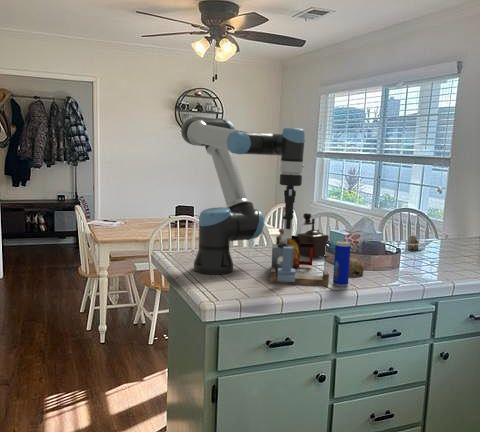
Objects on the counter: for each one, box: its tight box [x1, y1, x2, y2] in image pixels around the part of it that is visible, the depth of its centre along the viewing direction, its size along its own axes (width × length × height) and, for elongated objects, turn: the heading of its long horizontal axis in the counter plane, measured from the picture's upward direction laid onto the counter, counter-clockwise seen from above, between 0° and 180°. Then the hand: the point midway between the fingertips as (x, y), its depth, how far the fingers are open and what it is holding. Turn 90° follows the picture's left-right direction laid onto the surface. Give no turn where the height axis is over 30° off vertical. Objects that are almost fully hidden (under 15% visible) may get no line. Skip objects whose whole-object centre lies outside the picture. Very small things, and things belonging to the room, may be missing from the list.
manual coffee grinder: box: [296, 212, 330, 259], centre depth 218 cm, size 16×11×18 cm
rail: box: [269, 267, 330, 287], centre depth 169 cm, size 20×6×4 cm, turn 85°
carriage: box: [278, 246, 296, 282], centre depth 169 cm, size 6×8×11 cm
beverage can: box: [332, 240, 352, 287], centre depth 167 cm, size 5×5×15 cm
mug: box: [275, 234, 314, 270], centre depth 193 cm, size 10×14×12 cm
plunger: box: [278, 228, 287, 247], centre depth 181 cm, size 4×4×7 cm
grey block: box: [270, 243, 294, 273], centre depth 182 cm, size 8×9×10 cm
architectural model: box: [405, 234, 422, 251], centre depth 236 cm, size 3×7×7 cm, turn 119°
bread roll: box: [349, 257, 364, 277], centre depth 185 cm, size 10×10×8 cm
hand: (287, 234), depth 168 cm, fingers open, 13 cm apart
